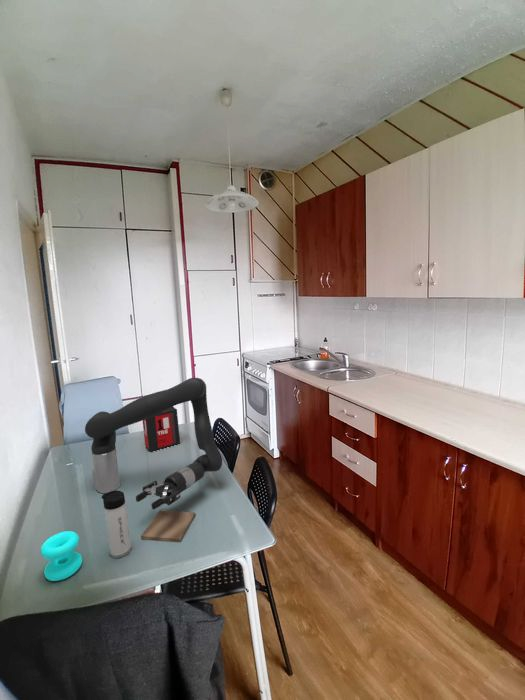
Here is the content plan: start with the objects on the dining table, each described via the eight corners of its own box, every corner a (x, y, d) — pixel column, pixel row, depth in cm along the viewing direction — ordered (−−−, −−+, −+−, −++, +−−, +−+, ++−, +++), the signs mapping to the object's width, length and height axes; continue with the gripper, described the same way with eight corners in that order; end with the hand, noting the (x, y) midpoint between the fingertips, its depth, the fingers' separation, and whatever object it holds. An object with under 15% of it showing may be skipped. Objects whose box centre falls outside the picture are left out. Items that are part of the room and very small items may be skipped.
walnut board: (141, 539, 117) (140, 536, 117) (160, 513, 131) (159, 510, 130) (180, 542, 115) (180, 539, 114) (195, 515, 128) (195, 512, 128)
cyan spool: (58, 527, 110) (85, 530, 108) (62, 556, 111) (90, 559, 109) (31, 550, 100) (61, 554, 98) (36, 581, 102) (66, 585, 100)
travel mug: (113, 545, 115) (105, 489, 112) (133, 543, 115) (126, 487, 112) (106, 559, 109) (98, 501, 105) (127, 557, 109) (120, 498, 106)
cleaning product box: (175, 439, 199) (171, 405, 195) (180, 444, 191) (176, 409, 188) (145, 447, 190) (141, 412, 187) (149, 452, 183) (145, 416, 179)
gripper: (166, 467, 135) (130, 487, 122) (192, 476, 127) (156, 499, 114) (168, 485, 136) (132, 506, 123) (194, 495, 128) (158, 519, 115)
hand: (144, 503), depth 119 cm, fingers open, 8 cm apart
